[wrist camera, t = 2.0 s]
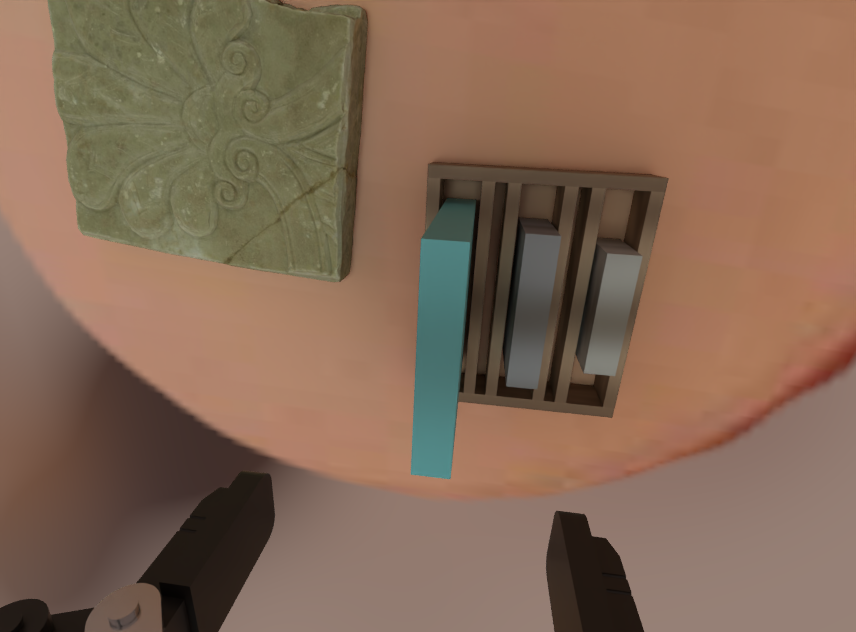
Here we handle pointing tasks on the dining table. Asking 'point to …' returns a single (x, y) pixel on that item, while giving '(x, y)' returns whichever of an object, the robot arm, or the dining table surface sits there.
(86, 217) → the decorative tile
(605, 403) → the rack
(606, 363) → the offcut short
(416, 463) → the teal sheet
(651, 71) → the dining table surface
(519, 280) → the offcut tall
